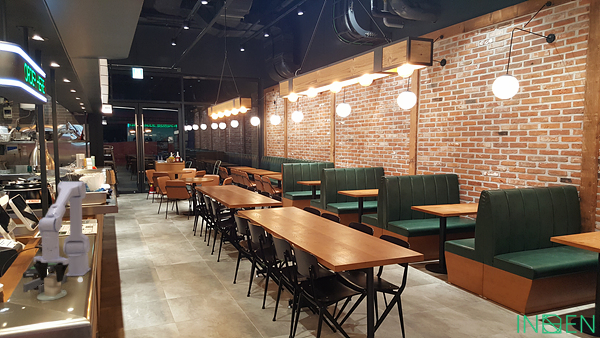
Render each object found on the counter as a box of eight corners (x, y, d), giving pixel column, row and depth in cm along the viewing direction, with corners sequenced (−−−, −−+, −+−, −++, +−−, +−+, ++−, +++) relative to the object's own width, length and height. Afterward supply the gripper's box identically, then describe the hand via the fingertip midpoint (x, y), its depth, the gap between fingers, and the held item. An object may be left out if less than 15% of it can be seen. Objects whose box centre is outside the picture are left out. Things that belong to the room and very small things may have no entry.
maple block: (52, 291, 159) (52, 274, 158) (61, 292, 158) (60, 275, 158) (44, 295, 155) (44, 278, 155) (53, 296, 154) (52, 278, 154)
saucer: (44, 291, 160) (44, 290, 160) (70, 290, 162) (70, 288, 162) (32, 301, 150) (31, 299, 150) (60, 300, 152) (59, 298, 152)
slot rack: (50, 279, 173) (50, 273, 173) (67, 281, 172) (66, 274, 171) (23, 291, 160) (23, 284, 160) (41, 293, 158) (40, 286, 158)
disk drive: (48, 277, 178) (59, 267, 192) (48, 271, 177) (59, 261, 192) (22, 279, 175) (35, 268, 189) (22, 273, 175) (35, 262, 189)
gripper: (26, 248, 152) (27, 282, 153) (58, 251, 149) (59, 285, 151) (41, 243, 159) (42, 276, 160) (72, 246, 156) (73, 279, 157)
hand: (51, 280), depth 156 cm, fingers open, 7 cm apart
